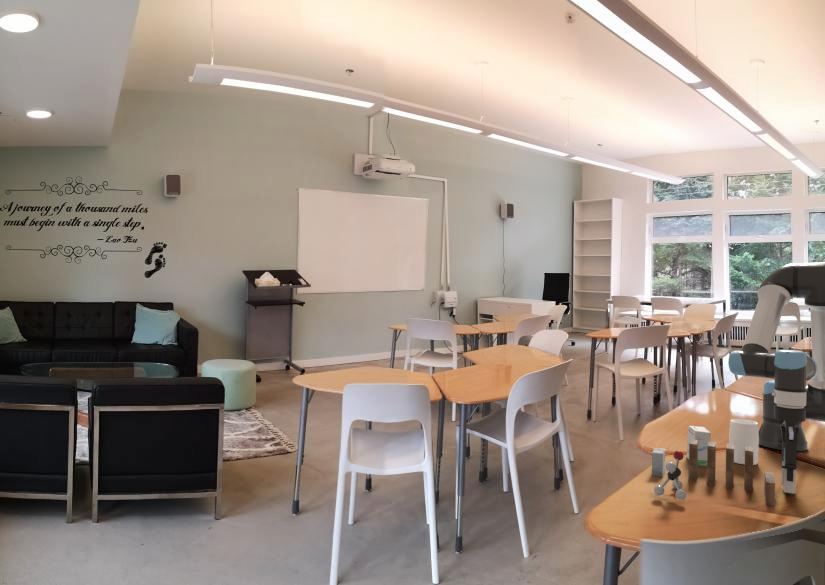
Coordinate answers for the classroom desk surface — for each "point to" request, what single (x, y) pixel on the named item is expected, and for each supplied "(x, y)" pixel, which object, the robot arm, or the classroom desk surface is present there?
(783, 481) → the teal tile
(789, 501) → the classroom desk surface
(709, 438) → the ink box
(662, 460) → the block
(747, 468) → the domino
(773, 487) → the domino
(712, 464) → the domino
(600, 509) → the classroom desk surface
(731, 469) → the domino
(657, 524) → the classroom desk surface
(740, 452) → the cup
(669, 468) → the molecular model
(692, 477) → the domino
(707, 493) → the classroom desk surface
